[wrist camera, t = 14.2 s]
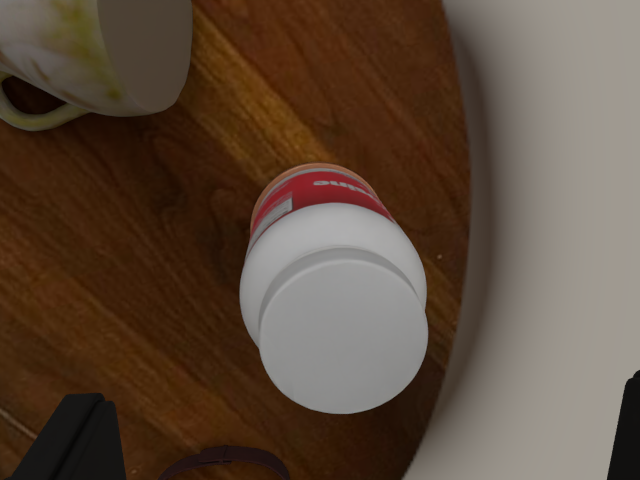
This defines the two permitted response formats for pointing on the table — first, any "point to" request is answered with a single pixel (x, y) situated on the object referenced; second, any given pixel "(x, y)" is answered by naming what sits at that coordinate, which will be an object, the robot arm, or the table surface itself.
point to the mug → (95, 56)
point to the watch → (227, 460)
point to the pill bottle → (333, 294)
